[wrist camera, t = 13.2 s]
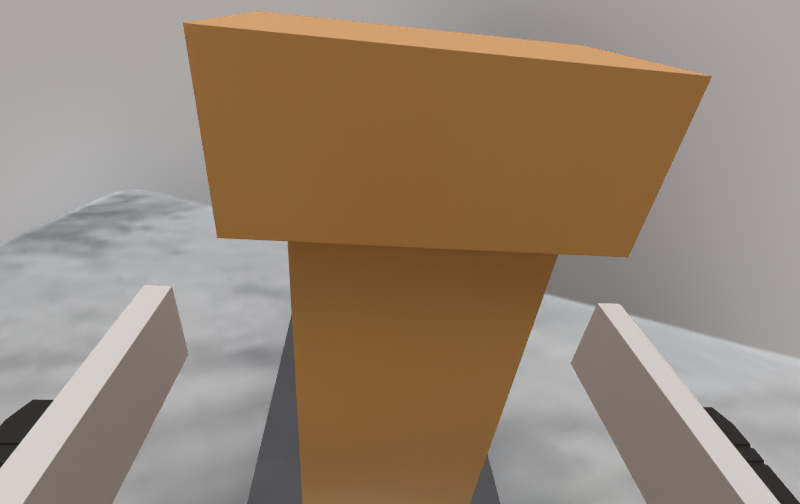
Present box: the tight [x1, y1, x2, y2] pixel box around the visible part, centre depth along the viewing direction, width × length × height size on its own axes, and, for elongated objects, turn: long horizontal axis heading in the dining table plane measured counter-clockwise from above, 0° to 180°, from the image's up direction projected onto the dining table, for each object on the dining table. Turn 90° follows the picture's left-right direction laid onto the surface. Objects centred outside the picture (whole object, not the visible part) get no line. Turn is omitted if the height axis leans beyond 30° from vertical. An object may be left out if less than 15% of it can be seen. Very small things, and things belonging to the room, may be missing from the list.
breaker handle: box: [183, 11, 712, 504], centre depth 11 cm, size 4×7×16 cm, turn 94°
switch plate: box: [247, 316, 500, 504], centre depth 21 cm, size 20×10×3 cm, turn 4°
